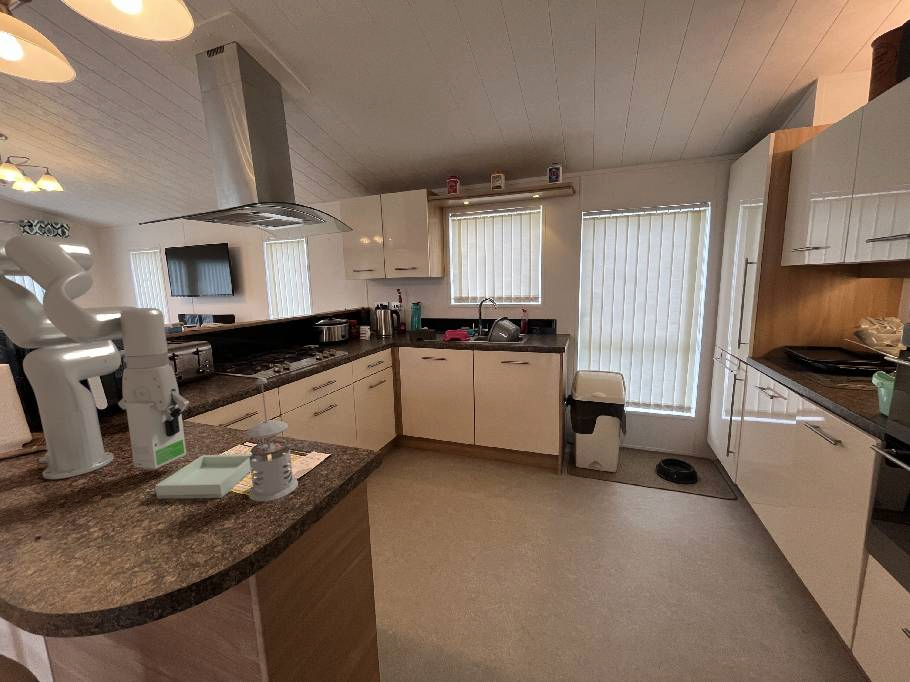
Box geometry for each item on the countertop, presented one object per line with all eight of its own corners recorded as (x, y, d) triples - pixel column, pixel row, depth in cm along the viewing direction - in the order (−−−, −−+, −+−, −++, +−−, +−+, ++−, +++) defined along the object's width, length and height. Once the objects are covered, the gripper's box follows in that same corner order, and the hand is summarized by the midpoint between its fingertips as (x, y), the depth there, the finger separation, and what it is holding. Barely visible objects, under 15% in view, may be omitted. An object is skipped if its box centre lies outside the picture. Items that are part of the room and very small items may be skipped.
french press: (249, 507, 73) (234, 386, 69) (247, 482, 82) (233, 375, 79) (301, 491, 78) (290, 378, 74) (293, 469, 87) (282, 368, 84)
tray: (157, 498, 77) (155, 485, 76) (203, 466, 91) (202, 455, 90) (221, 497, 76) (220, 484, 76) (258, 465, 90) (257, 454, 90)
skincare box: (154, 470, 83) (145, 405, 80) (131, 467, 84) (122, 403, 82) (188, 453, 91) (181, 394, 88) (166, 451, 92) (158, 392, 90)
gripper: (95, 364, 80) (107, 440, 83) (172, 365, 80) (181, 441, 83) (126, 358, 88) (136, 427, 90) (196, 358, 87) (204, 428, 90)
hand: (157, 433), depth 86 cm, fingers closed on skincare box, 7 cm apart
